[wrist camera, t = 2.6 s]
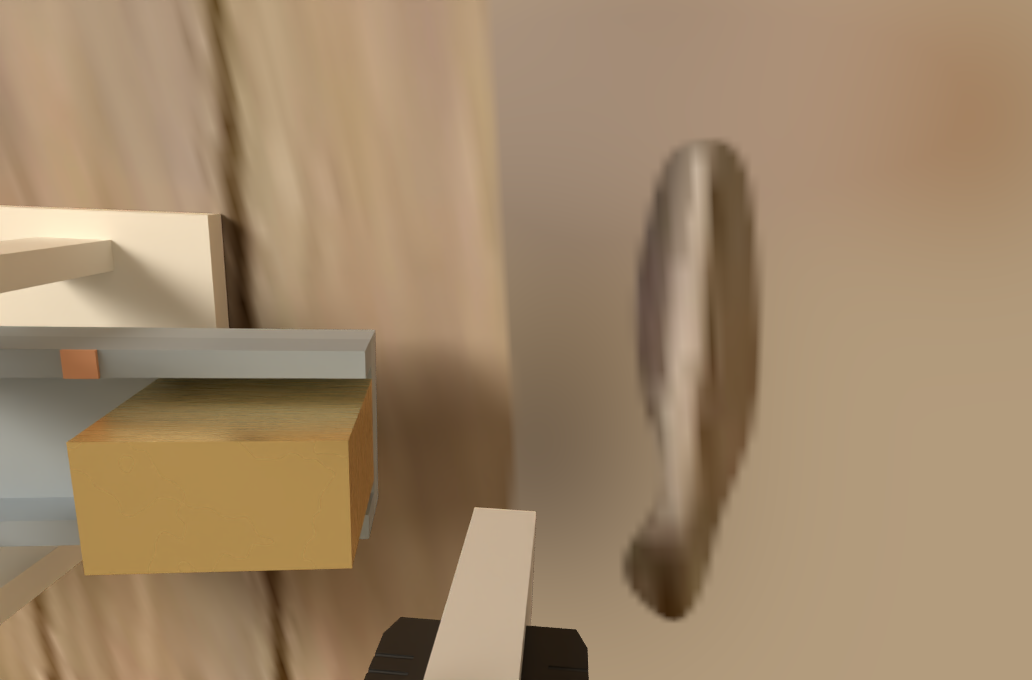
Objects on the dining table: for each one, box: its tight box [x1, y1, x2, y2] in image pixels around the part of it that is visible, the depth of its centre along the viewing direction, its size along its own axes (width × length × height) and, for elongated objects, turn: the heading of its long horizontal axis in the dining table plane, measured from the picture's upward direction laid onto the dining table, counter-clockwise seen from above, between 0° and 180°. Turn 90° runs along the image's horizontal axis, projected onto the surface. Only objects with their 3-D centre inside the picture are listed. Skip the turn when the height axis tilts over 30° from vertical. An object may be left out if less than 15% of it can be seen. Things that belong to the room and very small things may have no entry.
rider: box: [66, 378, 374, 575], centre depth 20 cm, size 4×7×6 cm, turn 88°
